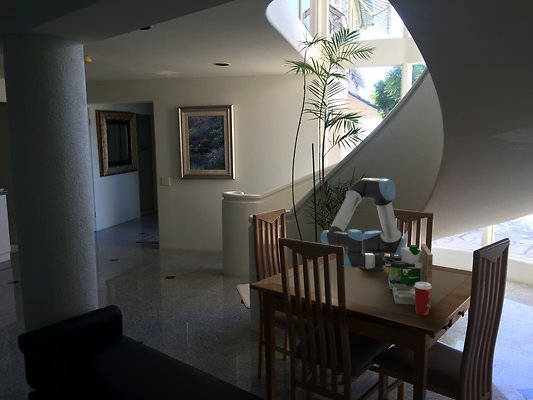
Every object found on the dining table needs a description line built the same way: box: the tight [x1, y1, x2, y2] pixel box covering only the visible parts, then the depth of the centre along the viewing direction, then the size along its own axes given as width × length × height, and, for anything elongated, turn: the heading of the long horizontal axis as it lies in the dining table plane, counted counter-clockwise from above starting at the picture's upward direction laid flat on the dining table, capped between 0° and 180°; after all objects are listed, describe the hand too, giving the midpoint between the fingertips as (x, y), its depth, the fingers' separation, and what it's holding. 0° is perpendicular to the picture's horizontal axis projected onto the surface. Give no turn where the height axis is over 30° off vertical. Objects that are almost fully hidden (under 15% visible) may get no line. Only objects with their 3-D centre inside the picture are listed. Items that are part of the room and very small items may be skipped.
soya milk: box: [401, 244, 422, 287], centre depth 227 cm, size 9×9×20 cm
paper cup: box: [413, 282, 433, 316], centre depth 210 cm, size 8×8×14 cm
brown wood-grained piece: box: [392, 243, 434, 309], centre depth 228 cm, size 24×16×26 cm, turn 169°
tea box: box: [387, 267, 410, 290], centre depth 249 cm, size 15×10×15 cm
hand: (420, 262), depth 226 cm, fingers closed on soya milk, 9 cm apart
